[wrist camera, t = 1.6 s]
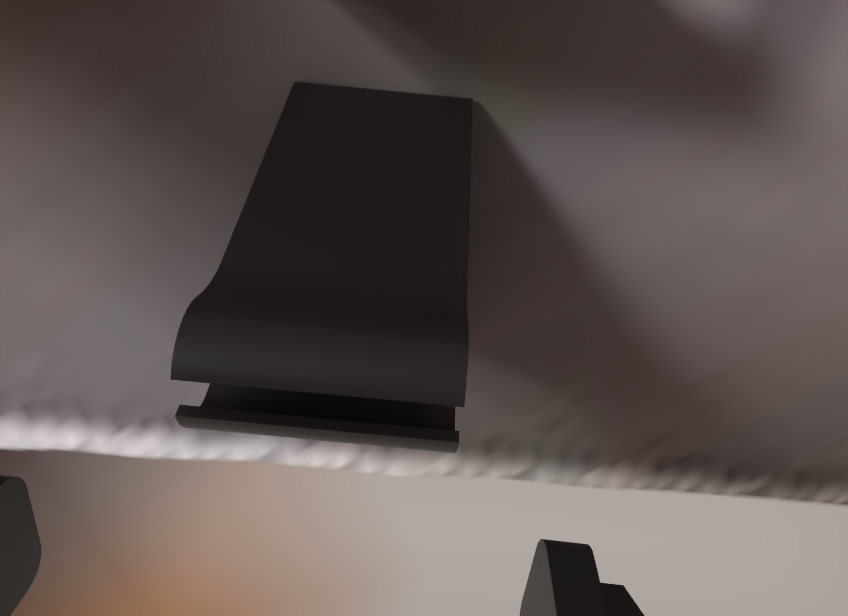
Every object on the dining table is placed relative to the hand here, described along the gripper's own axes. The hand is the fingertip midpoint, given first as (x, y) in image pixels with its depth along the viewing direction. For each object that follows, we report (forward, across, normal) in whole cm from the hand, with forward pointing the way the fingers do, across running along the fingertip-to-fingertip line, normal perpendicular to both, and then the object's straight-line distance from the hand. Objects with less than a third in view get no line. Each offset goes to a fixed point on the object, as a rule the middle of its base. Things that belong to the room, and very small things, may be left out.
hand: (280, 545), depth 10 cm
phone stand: (+16, 0, 0) cm, 16 cm away
